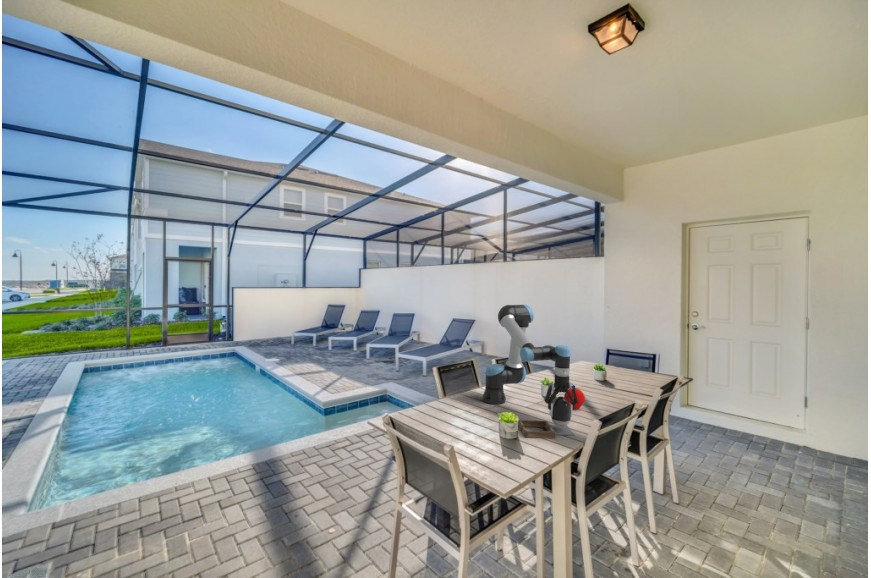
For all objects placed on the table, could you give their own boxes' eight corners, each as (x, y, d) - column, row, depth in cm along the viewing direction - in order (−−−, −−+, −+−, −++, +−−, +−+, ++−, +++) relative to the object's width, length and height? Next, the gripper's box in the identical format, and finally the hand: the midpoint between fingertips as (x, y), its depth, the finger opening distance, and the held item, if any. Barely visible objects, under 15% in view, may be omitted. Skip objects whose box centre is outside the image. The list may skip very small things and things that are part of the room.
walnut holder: (518, 425, 209) (518, 420, 209) (546, 425, 209) (546, 420, 209) (525, 437, 193) (525, 432, 193) (555, 438, 193) (555, 432, 193)
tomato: (563, 409, 235) (564, 389, 234) (563, 403, 246) (564, 384, 245) (585, 412, 231) (585, 391, 230) (584, 405, 242) (584, 386, 241)
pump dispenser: (557, 429, 197) (558, 400, 196) (546, 421, 207) (547, 394, 206) (574, 427, 199) (575, 399, 199) (563, 419, 209) (564, 392, 209)
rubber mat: (546, 425, 209) (546, 424, 209) (566, 426, 209) (566, 425, 209) (553, 435, 197) (553, 434, 197) (574, 435, 197) (574, 434, 197)
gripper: (543, 376, 198) (541, 418, 199) (585, 377, 198) (584, 418, 199) (539, 372, 206) (537, 412, 207) (580, 373, 206) (578, 413, 207)
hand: (560, 415), depth 203 cm, fingers closed on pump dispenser, 10 cm apart
